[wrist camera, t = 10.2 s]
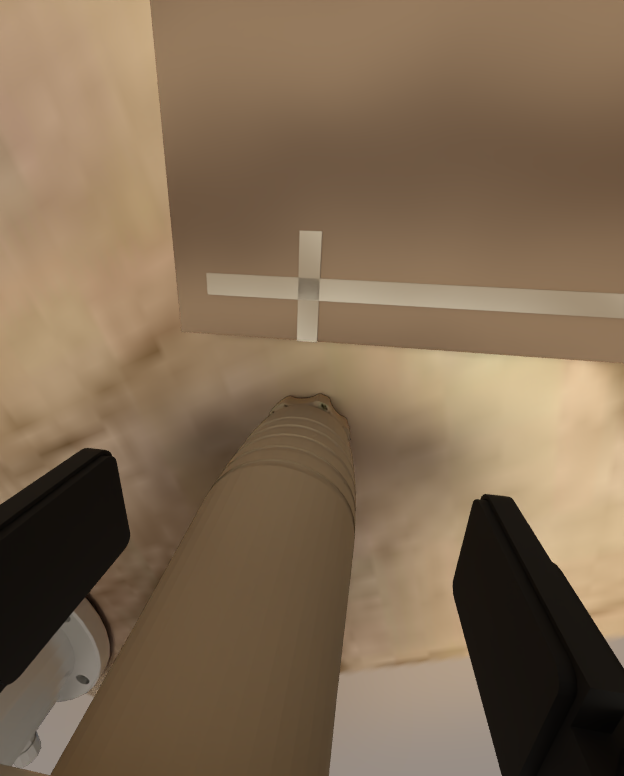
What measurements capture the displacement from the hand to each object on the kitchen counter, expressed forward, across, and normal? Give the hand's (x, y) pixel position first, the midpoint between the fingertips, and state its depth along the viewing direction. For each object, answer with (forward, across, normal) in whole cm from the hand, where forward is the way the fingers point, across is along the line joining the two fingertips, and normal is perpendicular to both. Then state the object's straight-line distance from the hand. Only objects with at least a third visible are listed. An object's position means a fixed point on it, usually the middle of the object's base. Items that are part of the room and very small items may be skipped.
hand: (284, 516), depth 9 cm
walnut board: (+6, -7, -8) cm, 12 cm away
